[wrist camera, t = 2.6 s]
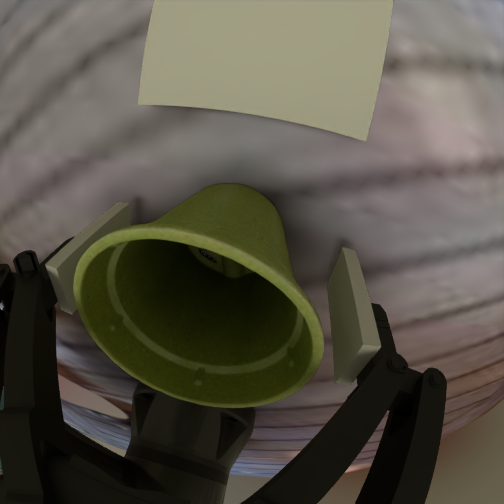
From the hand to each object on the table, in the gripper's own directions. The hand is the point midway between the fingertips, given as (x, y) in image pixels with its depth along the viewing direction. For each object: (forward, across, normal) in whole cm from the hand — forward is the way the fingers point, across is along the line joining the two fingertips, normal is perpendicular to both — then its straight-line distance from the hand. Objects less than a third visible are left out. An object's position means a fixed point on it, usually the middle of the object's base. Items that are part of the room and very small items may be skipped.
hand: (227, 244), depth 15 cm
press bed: (+1, 0, -13) cm, 13 cm away
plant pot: (+2, 0, 0) cm, 2 cm away
